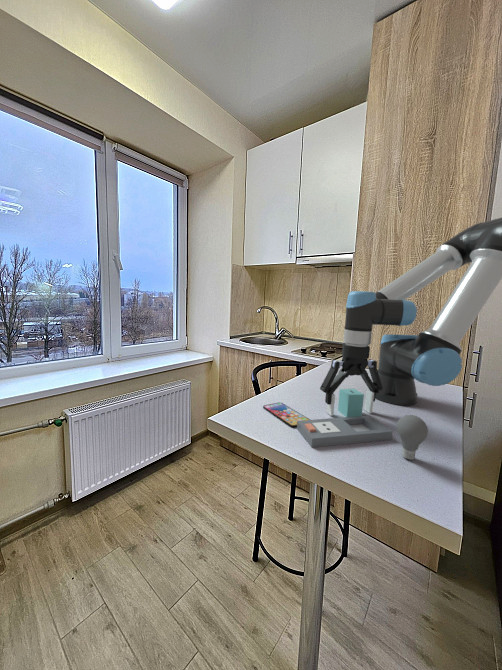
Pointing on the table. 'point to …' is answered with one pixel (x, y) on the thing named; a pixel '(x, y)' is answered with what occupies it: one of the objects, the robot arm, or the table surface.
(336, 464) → the table surface
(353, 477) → the table surface
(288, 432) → the table surface
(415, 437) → the light bulb
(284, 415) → the smartphone
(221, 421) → the table surface
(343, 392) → the block
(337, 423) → the power strip
